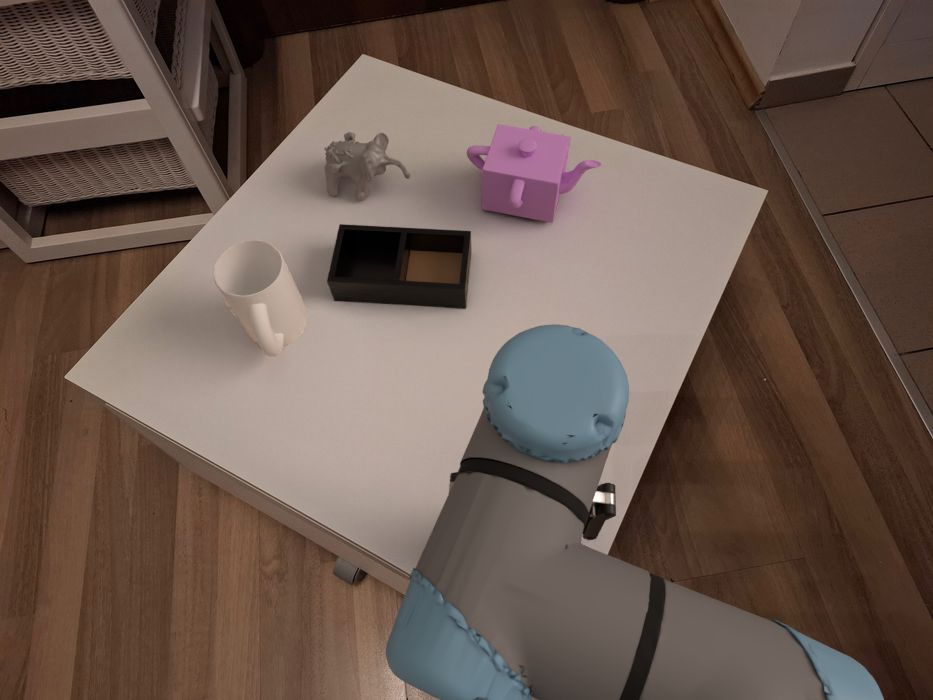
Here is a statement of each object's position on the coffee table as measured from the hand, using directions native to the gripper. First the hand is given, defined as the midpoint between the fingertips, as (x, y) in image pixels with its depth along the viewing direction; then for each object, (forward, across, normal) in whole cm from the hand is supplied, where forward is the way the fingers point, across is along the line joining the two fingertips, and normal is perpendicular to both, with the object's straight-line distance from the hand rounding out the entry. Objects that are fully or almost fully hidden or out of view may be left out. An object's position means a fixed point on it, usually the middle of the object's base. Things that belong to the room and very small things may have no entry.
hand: (521, 537), depth 67 cm
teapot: (+4, +1, -48) cm, 48 cm away
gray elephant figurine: (+4, +24, -50) cm, 56 cm away
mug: (+4, +32, -24) cm, 40 cm away
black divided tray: (+4, +17, -34) cm, 38 cm away
